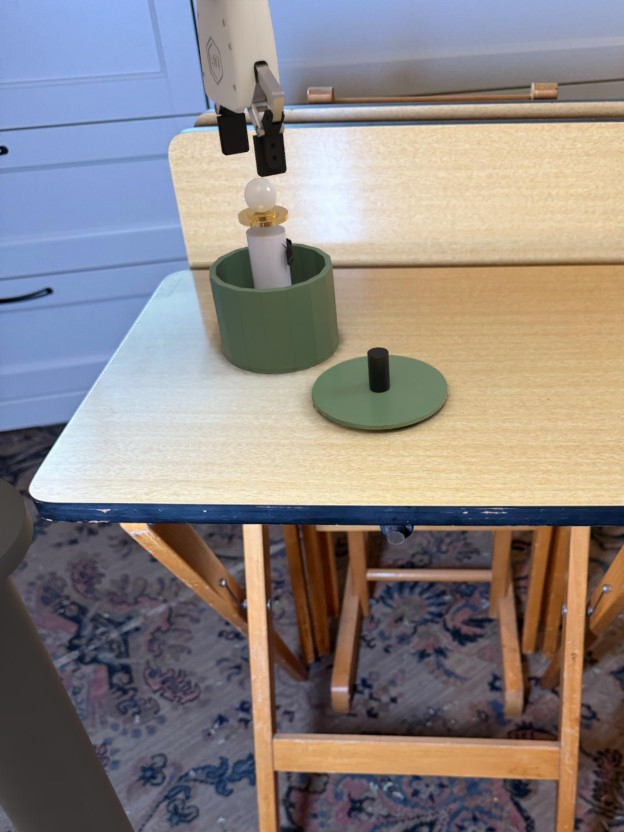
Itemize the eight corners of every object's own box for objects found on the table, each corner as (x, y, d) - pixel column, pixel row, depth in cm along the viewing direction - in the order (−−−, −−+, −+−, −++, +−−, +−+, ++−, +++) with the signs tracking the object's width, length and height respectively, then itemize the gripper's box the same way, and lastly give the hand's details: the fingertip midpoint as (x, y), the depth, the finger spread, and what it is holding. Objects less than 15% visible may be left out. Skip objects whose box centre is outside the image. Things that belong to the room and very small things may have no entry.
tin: (252, 385, 95) (238, 302, 88) (207, 338, 104) (191, 260, 97) (358, 352, 100) (353, 271, 93) (306, 309, 110) (298, 233, 103)
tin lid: (354, 450, 84) (351, 404, 80) (289, 387, 94) (284, 343, 90) (474, 406, 90) (476, 360, 86) (401, 351, 100) (400, 308, 96)
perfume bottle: (260, 355, 99) (233, 189, 86) (256, 334, 104) (230, 173, 90) (305, 349, 100) (286, 183, 87) (300, 328, 104) (281, 168, 91)
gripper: (162, -31, 81) (193, 151, 92) (228, -15, 69) (254, 190, 80) (231, -36, 83) (253, 141, 95) (305, -21, 72) (320, 177, 83)
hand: (253, 163), depth 87 cm, fingers open, 9 cm apart
